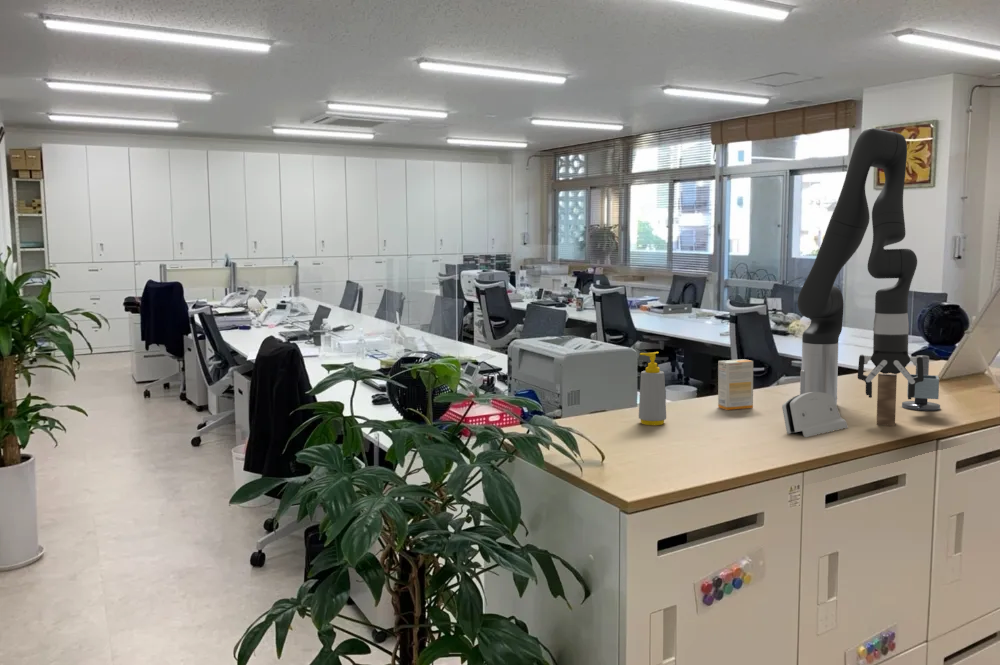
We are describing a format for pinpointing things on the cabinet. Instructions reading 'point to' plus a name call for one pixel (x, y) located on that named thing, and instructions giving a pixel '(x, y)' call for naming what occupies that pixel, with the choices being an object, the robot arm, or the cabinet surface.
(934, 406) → the cup bracket
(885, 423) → the rail post
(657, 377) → the soap bottle
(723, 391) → the supplement box
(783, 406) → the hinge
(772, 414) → the cabinet surface
